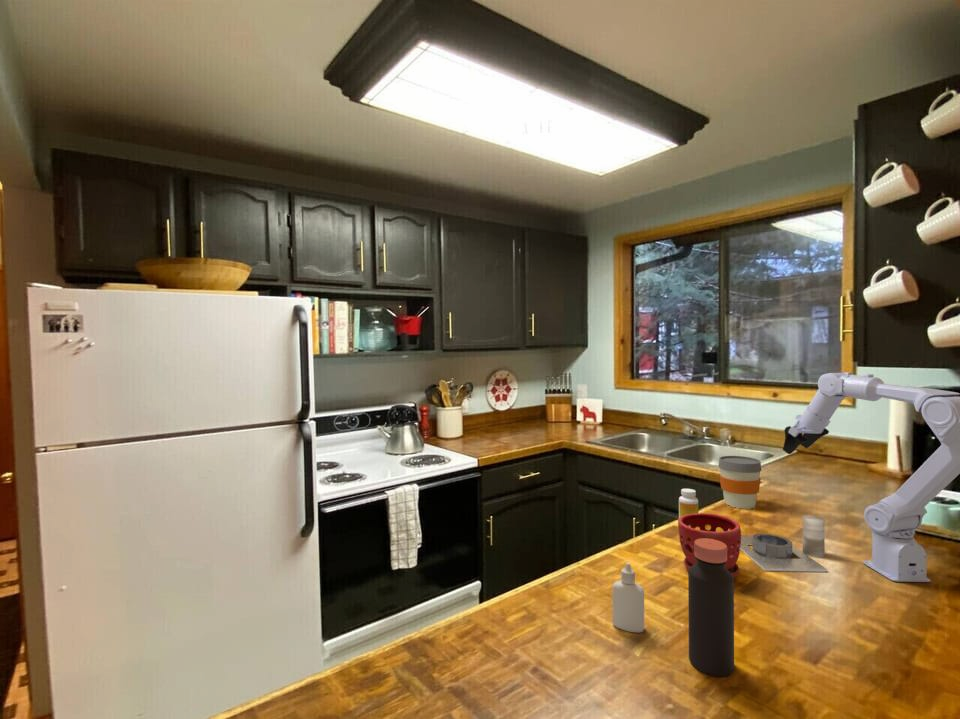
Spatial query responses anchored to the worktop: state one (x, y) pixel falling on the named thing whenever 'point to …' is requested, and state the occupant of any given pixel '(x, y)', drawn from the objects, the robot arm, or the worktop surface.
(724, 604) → the dark water bottle
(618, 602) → the eye dropper bottle
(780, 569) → the collar stand
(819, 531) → the peg
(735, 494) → the reusable coffee cup
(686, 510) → the supplement bottle
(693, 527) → the plant pot
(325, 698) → the worktop surface
